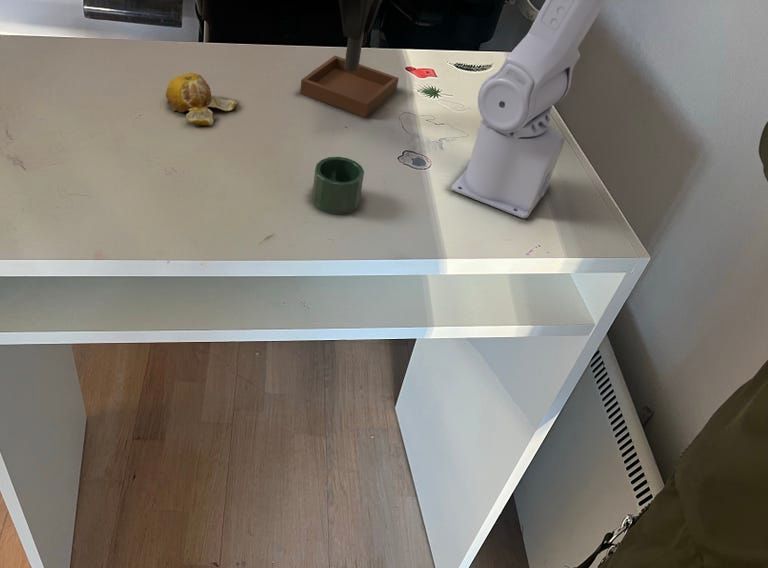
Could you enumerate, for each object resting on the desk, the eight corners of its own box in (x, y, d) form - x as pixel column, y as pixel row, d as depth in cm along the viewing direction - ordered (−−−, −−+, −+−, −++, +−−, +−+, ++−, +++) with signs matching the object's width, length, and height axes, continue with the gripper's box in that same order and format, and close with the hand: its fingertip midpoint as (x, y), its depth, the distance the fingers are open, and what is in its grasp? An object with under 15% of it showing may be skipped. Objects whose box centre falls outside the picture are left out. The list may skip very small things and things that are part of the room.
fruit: (201, 131, 94) (200, 104, 91) (150, 108, 97) (149, 81, 94) (241, 106, 99) (241, 79, 96) (191, 85, 102) (191, 59, 99)
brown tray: (396, 91, 105) (398, 77, 103) (365, 118, 99) (367, 104, 98) (333, 68, 108) (334, 55, 106) (299, 93, 102) (301, 79, 101)
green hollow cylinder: (367, 197, 87) (372, 168, 84) (344, 220, 84) (349, 190, 81) (327, 180, 89) (330, 151, 86) (303, 202, 86) (306, 172, 83)
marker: (361, 67, 96) (370, 3, 90) (354, 73, 95) (363, 8, 89) (348, 63, 96) (357, -1, 90) (341, 68, 95) (349, 4, 89)
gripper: (372, -113, 88) (355, 5, 98) (309, -82, 79) (298, 44, 89) (426, -98, 86) (404, 21, 96) (368, -65, 77) (350, 63, 87)
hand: (356, 33), depth 92 cm, fingers closed on marker, 2 cm apart
